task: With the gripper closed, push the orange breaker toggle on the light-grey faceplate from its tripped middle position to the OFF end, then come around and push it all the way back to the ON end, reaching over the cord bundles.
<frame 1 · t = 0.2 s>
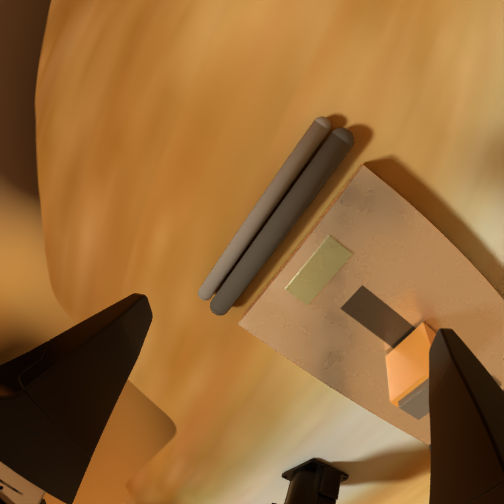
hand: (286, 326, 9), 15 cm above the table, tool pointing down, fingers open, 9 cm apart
faceplate: (411, 333, 23), on the table
breaker toggle: (421, 372, 18), point 5 cm above the table, slide at 5.0 cm
cord 2: (276, 228, 23), on the table
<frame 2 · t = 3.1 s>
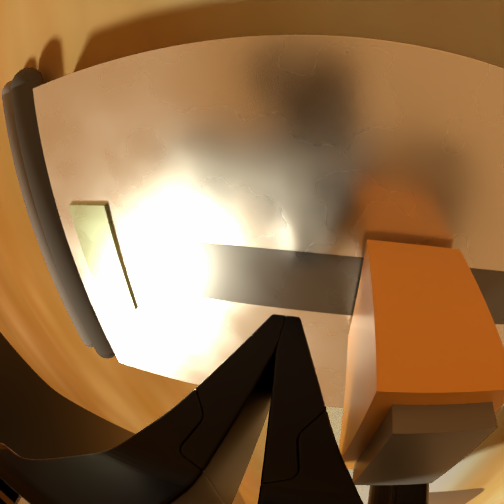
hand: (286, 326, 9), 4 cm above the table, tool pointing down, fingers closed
faceplate: (359, 256, 12), on the table
breaker toggle: (411, 366, 7), point 5 cm above the table, slide at 3.7 cm, touching gripper
cord 2: (70, 230, 15), on the table
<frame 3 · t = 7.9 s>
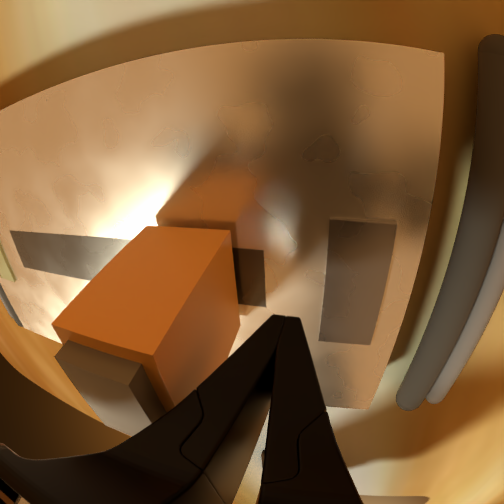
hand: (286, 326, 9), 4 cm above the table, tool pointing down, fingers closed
faceplate: (126, 238, 14), on the table
breaker toggle: (159, 334, 9), point 5 cm above the table, slide at 0.4 cm, touching gripper
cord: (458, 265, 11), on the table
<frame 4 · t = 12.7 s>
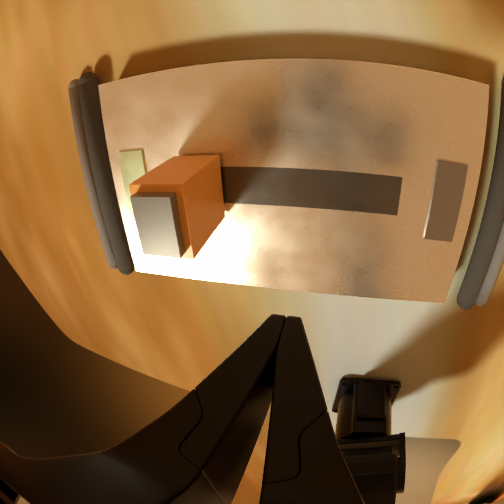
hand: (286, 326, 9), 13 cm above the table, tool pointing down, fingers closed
faceplate: (286, 176, 20), on the table
breaker toggle: (179, 204, 17), point 5 cm above the table, slide at 10.0 cm
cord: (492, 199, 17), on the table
cord 2: (110, 177, 23), on the table
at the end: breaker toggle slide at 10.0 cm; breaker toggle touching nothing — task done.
